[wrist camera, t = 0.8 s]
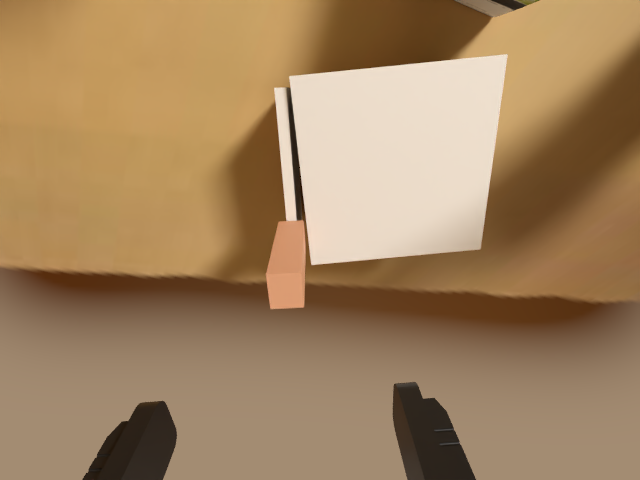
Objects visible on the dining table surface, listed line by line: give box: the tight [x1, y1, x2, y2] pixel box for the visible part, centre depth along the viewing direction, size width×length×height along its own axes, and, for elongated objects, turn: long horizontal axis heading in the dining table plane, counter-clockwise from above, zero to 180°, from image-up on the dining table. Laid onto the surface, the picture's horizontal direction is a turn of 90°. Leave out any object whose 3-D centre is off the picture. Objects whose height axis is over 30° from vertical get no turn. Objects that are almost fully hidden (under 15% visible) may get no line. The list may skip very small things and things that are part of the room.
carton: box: [289, 54, 508, 265], centre depth 28 cm, size 14×14×11 cm
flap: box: [266, 87, 306, 309], centre depth 25 cm, size 2×13×18 cm, turn 2°
